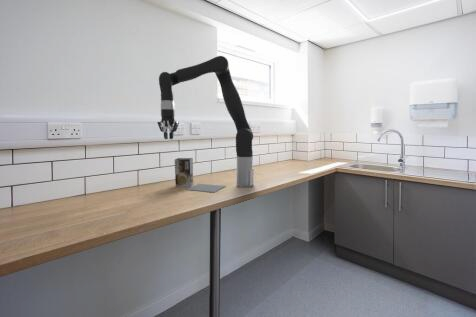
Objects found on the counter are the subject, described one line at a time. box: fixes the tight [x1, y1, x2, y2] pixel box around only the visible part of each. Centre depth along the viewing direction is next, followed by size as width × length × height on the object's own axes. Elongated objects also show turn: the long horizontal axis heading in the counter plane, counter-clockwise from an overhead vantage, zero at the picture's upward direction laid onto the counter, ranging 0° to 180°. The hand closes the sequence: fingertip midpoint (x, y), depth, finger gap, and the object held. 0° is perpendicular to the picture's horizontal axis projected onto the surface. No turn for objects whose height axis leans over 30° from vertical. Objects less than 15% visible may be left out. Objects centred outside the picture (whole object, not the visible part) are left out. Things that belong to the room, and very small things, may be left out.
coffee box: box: [174, 157, 194, 188], centre depth 151 cm, size 9×6×16 cm
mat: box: [185, 183, 227, 193], centre depth 147 cm, size 18×15×1 cm
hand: (168, 138), depth 153 cm, fingers open, 3 cm apart
